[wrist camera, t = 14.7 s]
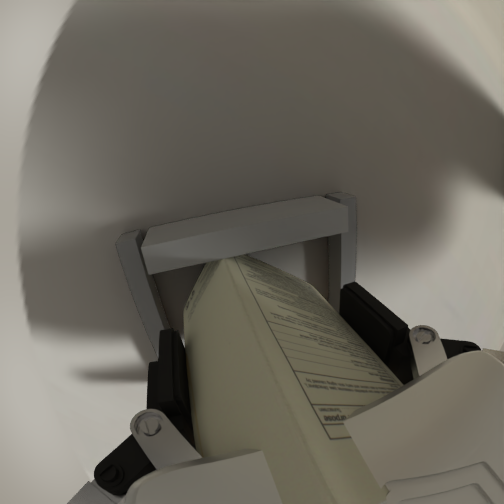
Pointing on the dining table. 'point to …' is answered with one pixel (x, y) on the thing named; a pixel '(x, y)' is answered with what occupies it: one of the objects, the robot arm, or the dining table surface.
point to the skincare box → (280, 380)
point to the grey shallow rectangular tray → (238, 245)
